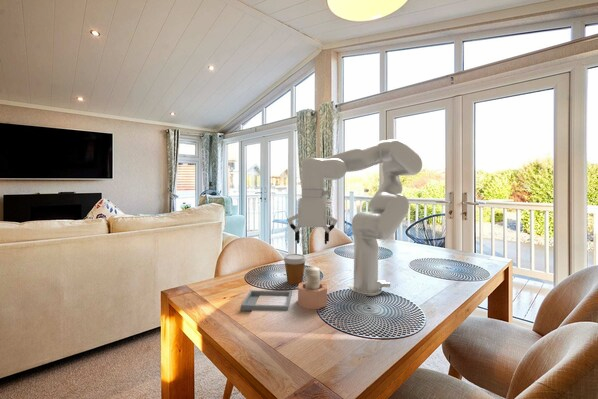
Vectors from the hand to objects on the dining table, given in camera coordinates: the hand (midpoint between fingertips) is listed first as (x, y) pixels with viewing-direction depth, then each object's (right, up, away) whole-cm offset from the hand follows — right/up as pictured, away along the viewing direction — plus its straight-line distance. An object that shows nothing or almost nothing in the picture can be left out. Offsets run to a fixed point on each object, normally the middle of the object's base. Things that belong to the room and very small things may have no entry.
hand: (311, 243), depth 99 cm
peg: (0, -21, +2) cm, 21 cm away
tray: (-16, -22, +3) cm, 27 cm away
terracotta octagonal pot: (0, -22, +2) cm, 22 cm away
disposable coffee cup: (-6, -21, +22) cm, 31 cm away
